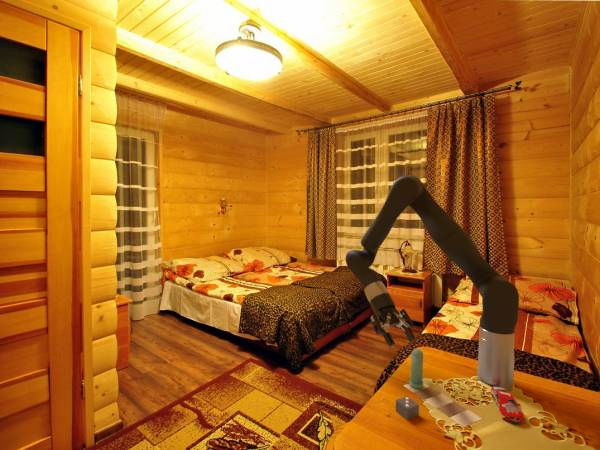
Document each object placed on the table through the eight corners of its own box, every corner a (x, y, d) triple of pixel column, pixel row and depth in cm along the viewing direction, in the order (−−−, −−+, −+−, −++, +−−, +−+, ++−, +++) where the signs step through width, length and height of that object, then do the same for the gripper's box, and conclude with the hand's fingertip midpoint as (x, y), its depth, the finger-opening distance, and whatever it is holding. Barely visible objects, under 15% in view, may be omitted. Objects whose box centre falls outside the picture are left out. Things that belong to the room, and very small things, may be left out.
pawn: (416, 381, 95) (417, 345, 94) (426, 387, 91) (427, 350, 91) (406, 384, 93) (407, 348, 93) (416, 390, 90) (417, 353, 89)
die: (406, 410, 82) (407, 394, 82) (418, 419, 79) (419, 403, 79) (395, 415, 81) (395, 398, 80) (407, 424, 77) (407, 407, 77)
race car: (527, 428, 77) (527, 413, 76) (502, 423, 78) (502, 408, 78) (509, 398, 89) (510, 384, 89) (488, 394, 91) (488, 381, 91)
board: (420, 383, 96) (420, 379, 96) (483, 422, 78) (483, 418, 78) (401, 389, 92) (401, 385, 92) (462, 432, 74) (462, 427, 74)
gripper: (367, 294, 101) (391, 342, 91) (400, 289, 107) (426, 334, 98) (357, 305, 106) (379, 352, 96) (389, 300, 112) (412, 344, 103)
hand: (402, 343), depth 97 cm, fingers open, 8 cm apart
